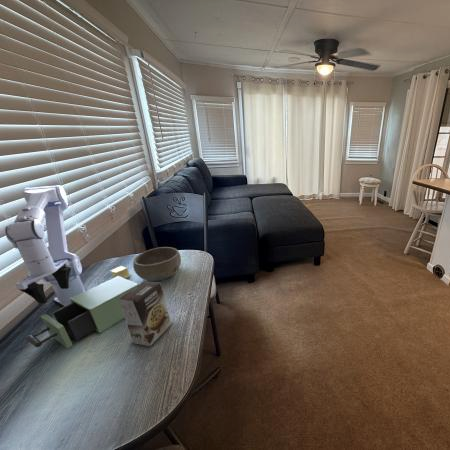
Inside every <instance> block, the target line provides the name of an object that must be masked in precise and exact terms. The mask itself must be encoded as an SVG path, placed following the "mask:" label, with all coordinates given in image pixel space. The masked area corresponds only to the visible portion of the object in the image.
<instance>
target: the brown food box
mask: <svg viewBox="0 0 450 450" xmlns="http://www.w3.org/2000/svg"><path fill="white" fill-rule="evenodd" d="M161 283H162V282H157V281H146V280H144V281H142V282H140V283H138V284H139V285H138V286H136V287H135V288H133V289H132V290H131V291H129V292H128V293H126V294H125V295H124V296H122V297H121V298H119V302H120V305H121V308H122V311H123V314H124V317H125V318H124V321H125V322H126V325H127V328H128V333H129V334H130V338H131V341H132V343H133V344H137V345H140V346H147V347H151V346H152V345H153V344H154V343H155V342H156V341H157V340H158V339H159V338H160V337H161V336H162V335H163V334H164V333H165V332H166V331H167V330H168V329H169V328H170V327H171V325H172V322H171V318H170V313H169V310H168V307H167V301H166V299H165V295H164V291H163V288H162V287H163V286H162V284H161Z"/></svg>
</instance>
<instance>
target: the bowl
mask: <svg viewBox="0 0 450 450" xmlns="http://www.w3.org/2000/svg"><path fill="white" fill-rule="evenodd" d="M181 265H182V257H181V254H180V252H179V250H178V249H177V248H175V247H172V246H170V247H169V246H161V247H160V246H159V247H156V248H151V249H148V250H145V251H143V252H140V253H139V254H138V255H136V256H135V257H134V258H133V262H132V267H133V270H134V273H135V274H136V275H137V276H138V277H139V278H141V279H142V280H144V281H146V282H158V281H162V280H166V279H168V278H170V277H172V276H173V275H175V274H176V273H177V272H178V271H179V269H180V267H181Z"/></svg>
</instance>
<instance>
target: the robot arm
mask: <svg viewBox="0 0 450 450" xmlns="http://www.w3.org/2000/svg"><path fill="white" fill-rule="evenodd" d="M22 195H23V198H24V200H25V202H26V206H23V207H22V208H21V209H19V211H18V213H17V215H16V217H15V219H14V221H13V222H11V223H8V225H6V226H5V227H4V233H5V237H6V239H7V240H8V241H9V242H10V243H11V244H12V246H13V248H15V249H17V250H18V252H19V254H20V256H21V258H22V261H23V262H24V264H25V267H26V269H27V270H28V274H27V275H26V276H25V277H23V278H22V279H20V281H18V282H16V283H14V285H15V287H16V289H17V290H19V291H20V292H23V293H25V294H27V295H28V296H30V297H31V298H32V299H33V300H35V301H36V302H37V304H40V305H41V304H46V303H47V302H48V299H47V296H46V293H45V288H44V283H38V282H39V281H40V280H42V281H44V282H46V283H49V284H50V285H51V288H52V289H53V291H54V294H55V295H56V297H54V299H53V300H54V301H55V302H57V303H58V304H60V305H62V306H63V307H65V306H67V305H69V304H71V300H70V298H72V297H74V296H76V295H78V294H81V293H83V292H85V291H86V290H85V287H84V284H83V282H82V279H81V277H80V275H81V274H82V271H83V266H82V263H81V261H80V257H79V256H78V255H77V254H75V253H72V252H69V248H68V242H67V235H66V227H65V220H64V211H67V209H68V205H69V203H68V198H67V193H66V191H65V189H64V187H63V186H61V185H60V184H57V185H50V186H49V185H47V186H38V187H25V188H24V189H23V191H22ZM44 221H45V225H44ZM45 228H46V235H47V244H46V241H45V239H44V237H45ZM47 245H48V246H47Z"/></svg>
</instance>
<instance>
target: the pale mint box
mask: <svg viewBox="0 0 450 450" xmlns="http://www.w3.org/2000/svg"><path fill="white" fill-rule="evenodd" d="M139 284H140V283H137V282H135V281H133V280H130V279H128V278H126V279H125V278H123V277H120V276H117V277H115V278H113V277H112V278H111V279H108V280H106V281H104V282H102V283H100V284H97V285H95V286H94V287H91V288H89V289H87V290H85V292H83V293H81V294H78V295H76V296H74V297H72V298H70V300H71V303H73V302H74V303H76V304H78V305H80V306H81V307H83V308H85V309H87V310H88V311H90V313H91V316H92V318H93V321H94V323H95V325H96V328H97V329H95V330H94V331H95V332H97V333H103V332H105V330H107V329H109V328H110V327H112V326H113V325H115V324H117V323H118V322H120V321H121V320H123V319H125V317H124V314H123V311H122V308H121V305H120V302H119V298H121V297H122V296H124V295H125V294H126V293H128V292H129V291H131V290H132V289H133V288H135V287H136V286H138V285H139Z"/></svg>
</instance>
